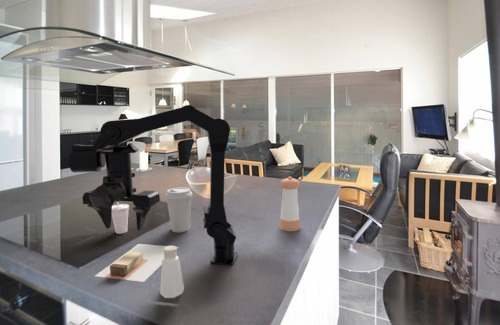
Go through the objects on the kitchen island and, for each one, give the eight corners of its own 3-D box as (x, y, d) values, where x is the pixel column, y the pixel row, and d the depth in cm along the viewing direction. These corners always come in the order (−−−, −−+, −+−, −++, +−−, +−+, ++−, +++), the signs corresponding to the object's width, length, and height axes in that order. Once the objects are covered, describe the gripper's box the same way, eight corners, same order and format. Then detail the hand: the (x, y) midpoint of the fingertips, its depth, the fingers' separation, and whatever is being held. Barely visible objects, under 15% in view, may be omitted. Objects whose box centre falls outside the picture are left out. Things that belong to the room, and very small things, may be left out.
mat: (138, 244, 88) (138, 243, 88) (178, 248, 85) (178, 246, 85) (94, 277, 70) (94, 275, 70) (144, 283, 67) (143, 281, 67)
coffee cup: (165, 227, 102) (163, 188, 100) (190, 223, 106) (189, 185, 104) (169, 237, 94) (166, 194, 92) (196, 232, 98) (195, 191, 96)
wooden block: (124, 276, 69) (123, 267, 69) (110, 275, 70) (109, 266, 69) (143, 261, 77) (142, 252, 76) (130, 260, 78) (129, 251, 77)
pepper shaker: (175, 302, 60) (172, 255, 58) (155, 296, 62) (151, 251, 60) (189, 288, 65) (187, 244, 63) (170, 283, 67) (167, 241, 65)
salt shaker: (278, 230, 99) (278, 178, 96) (281, 223, 106) (281, 174, 103) (298, 232, 97) (299, 179, 94) (300, 224, 104) (301, 175, 101)
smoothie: (107, 235, 96) (103, 196, 94) (119, 228, 102) (116, 192, 100) (123, 237, 94) (120, 197, 92) (135, 229, 101) (132, 192, 99)
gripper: (60, 175, 63) (67, 239, 66) (132, 178, 60) (137, 245, 62) (96, 167, 74) (101, 222, 77) (159, 169, 71) (162, 227, 73)
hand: (123, 229), depth 72 cm, fingers open, 9 cm apart
